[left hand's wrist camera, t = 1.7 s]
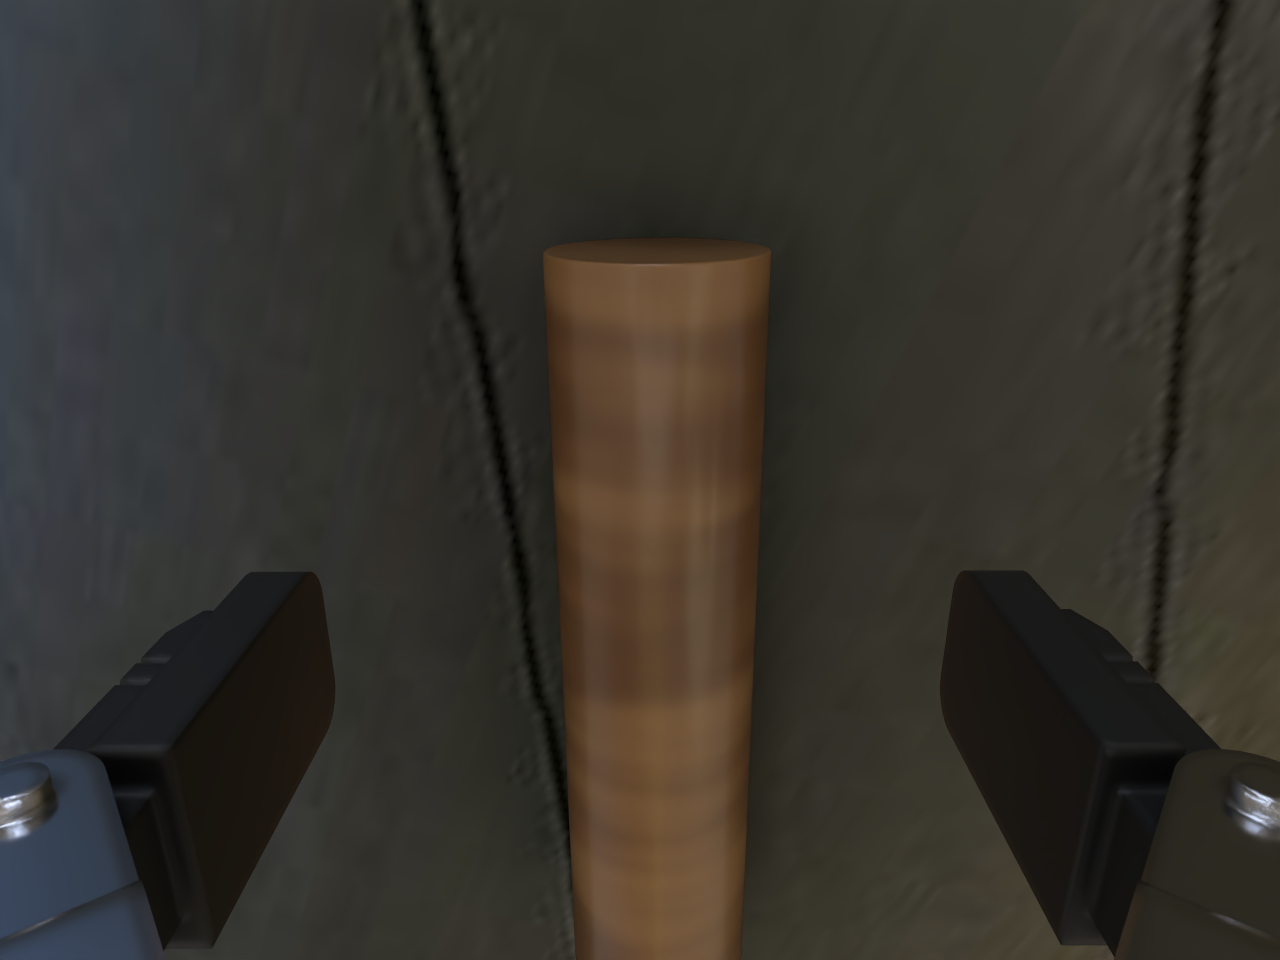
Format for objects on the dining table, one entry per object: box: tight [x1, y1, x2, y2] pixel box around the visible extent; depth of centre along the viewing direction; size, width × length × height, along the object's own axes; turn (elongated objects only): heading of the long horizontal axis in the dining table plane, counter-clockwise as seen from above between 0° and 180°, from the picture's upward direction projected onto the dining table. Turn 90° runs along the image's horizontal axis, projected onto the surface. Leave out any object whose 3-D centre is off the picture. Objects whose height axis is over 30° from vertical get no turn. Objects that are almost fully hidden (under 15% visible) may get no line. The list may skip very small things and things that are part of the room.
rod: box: [543, 238, 771, 960], centre depth 28 cm, size 25×6×6 cm, turn 0°
